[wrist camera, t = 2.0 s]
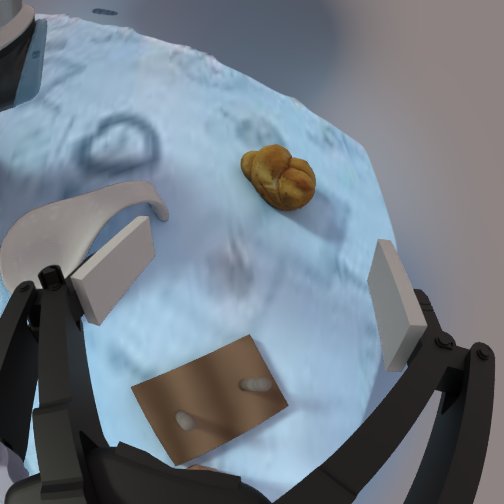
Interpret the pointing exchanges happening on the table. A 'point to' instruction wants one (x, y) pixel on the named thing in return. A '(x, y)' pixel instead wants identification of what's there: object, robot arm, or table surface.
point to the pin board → (210, 400)
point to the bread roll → (279, 177)
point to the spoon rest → (67, 230)
